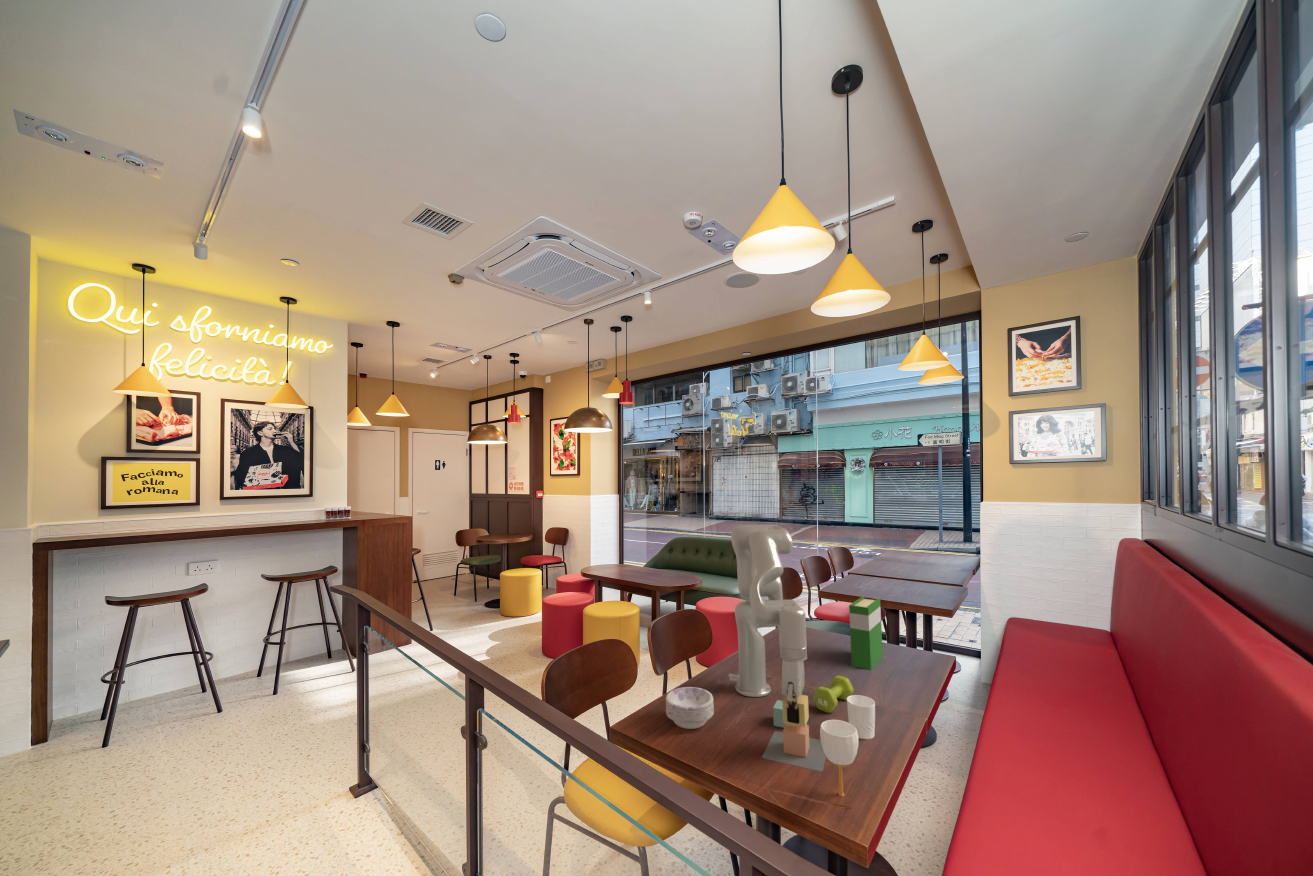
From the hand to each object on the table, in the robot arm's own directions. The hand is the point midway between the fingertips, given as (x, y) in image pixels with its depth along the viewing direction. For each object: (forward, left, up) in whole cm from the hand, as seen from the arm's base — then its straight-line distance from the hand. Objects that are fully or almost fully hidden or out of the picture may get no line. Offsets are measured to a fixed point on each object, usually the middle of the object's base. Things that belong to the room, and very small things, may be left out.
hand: (795, 716), depth 143 cm
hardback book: (+14, +81, -10) cm, 83 cm away
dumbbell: (+6, +35, -10) cm, 37 cm away
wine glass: (+13, -16, -10) cm, 23 cm away
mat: (0, 0, -10) cm, 10 cm away
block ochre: (0, 0, -1) cm, 1 cm away
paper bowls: (-34, +4, -10) cm, 36 cm away
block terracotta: (0, 0, -9) cm, 9 cm away
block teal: (-6, +14, -10) cm, 18 cm away
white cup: (+16, +17, -10) cm, 25 cm away
